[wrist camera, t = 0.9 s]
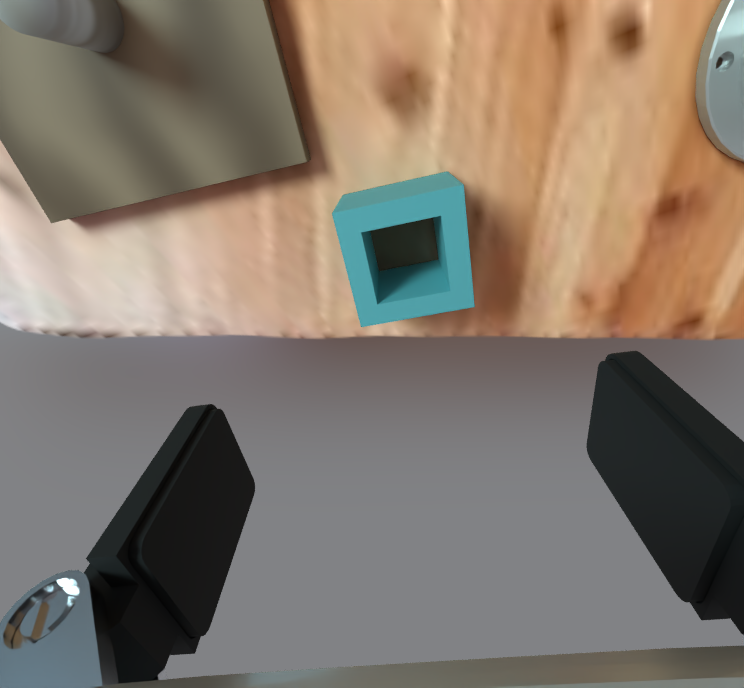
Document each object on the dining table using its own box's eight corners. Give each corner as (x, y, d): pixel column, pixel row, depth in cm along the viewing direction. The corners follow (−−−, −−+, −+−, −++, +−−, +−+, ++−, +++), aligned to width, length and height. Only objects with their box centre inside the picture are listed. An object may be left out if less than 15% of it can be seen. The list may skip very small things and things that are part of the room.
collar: (447, 171, 25) (463, 184, 20) (458, 272, 28) (474, 307, 23) (342, 194, 26) (331, 213, 21) (365, 290, 29) (361, 327, 24)
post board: (187, -304, 16) (82, -530, 11) (310, 159, 25) (288, 171, 19) (-154, -159, 19) (-390, -281, 13) (67, 218, 27) (-16, 243, 22)
